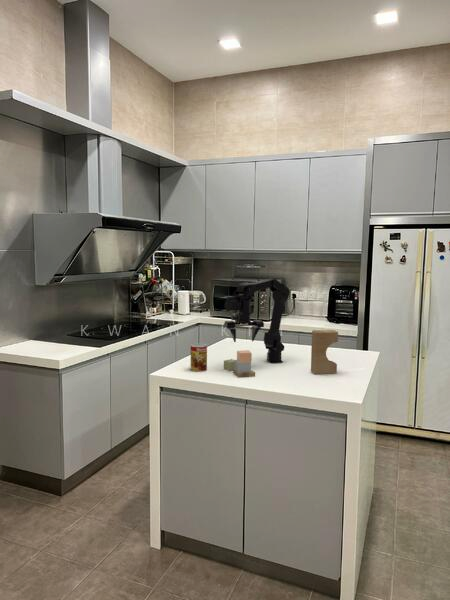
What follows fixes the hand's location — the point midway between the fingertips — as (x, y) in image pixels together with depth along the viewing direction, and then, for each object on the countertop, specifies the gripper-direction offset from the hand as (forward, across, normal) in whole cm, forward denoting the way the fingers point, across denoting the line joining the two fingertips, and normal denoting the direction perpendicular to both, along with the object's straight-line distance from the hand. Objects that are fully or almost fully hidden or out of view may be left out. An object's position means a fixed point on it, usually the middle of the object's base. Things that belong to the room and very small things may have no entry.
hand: (243, 341), depth 216 cm
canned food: (+13, +22, -2) cm, 26 cm away
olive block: (+13, +7, +2) cm, 15 cm away
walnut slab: (+14, +4, +12) cm, 19 cm away
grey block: (+11, +4, +12) cm, 17 cm away
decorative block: (+13, -34, +18) cm, 41 cm away
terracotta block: (+7, +4, +12) cm, 14 cm away
